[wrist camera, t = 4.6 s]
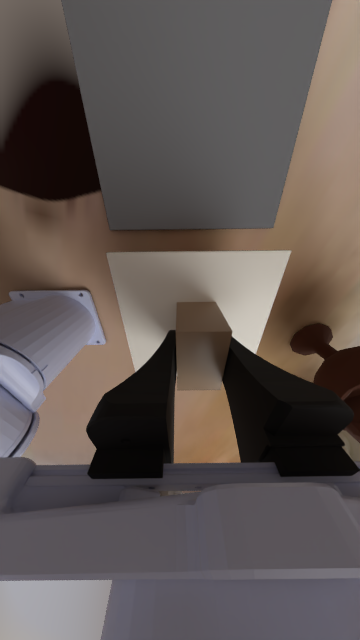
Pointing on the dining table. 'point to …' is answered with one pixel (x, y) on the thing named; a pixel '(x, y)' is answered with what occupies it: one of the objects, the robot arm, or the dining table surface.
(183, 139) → the mat
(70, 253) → the dining table surface
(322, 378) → the ice cream bowl
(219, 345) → the lid
